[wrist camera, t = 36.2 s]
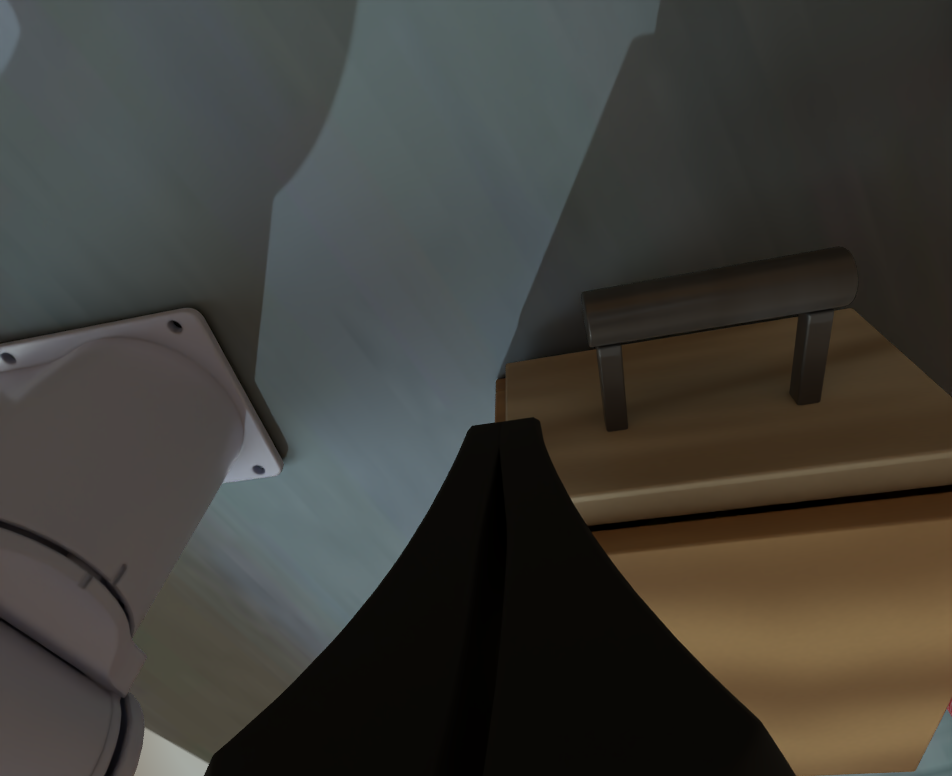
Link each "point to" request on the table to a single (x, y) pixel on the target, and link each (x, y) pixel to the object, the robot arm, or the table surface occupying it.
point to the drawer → (734, 398)
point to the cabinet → (812, 619)
